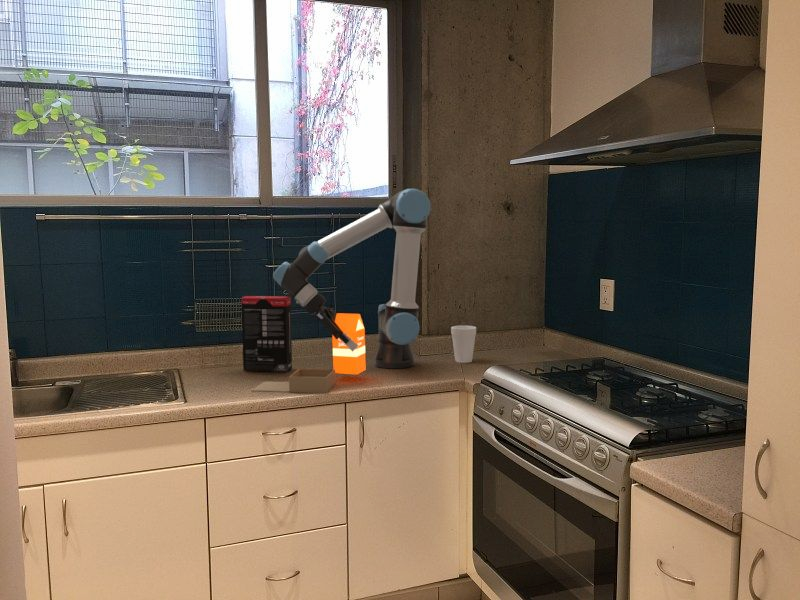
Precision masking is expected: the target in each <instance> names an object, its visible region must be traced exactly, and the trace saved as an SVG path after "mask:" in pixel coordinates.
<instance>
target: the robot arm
mask: <svg viewBox="0 0 800 600" xmlns="http://www.w3.org/2000/svg"><path fill="white" fill-rule="evenodd" d="M431 209H432V208H431V201H430V198H429V197H428V196H427V194H426V193H425V192H424V191H422V190H420V189H418V188H406V189H403V190H400V191H398V192H397V193H395V194H394V195H392V196H391V197H390V198H388V199H387V200H386V201H383V202H381V203H380V204H379V205H378V207H377V209H375V210H373V211H371V212H369V213H367V214H365V215H364V216H362V217H359V219H358V218H357V219H356V220H355V221H353V222H351V223H349V224H347V225H345V226H343V227H341V228H339V229H337V230H336V231H334V232H332V233H330V234H329V235H326V236H324V237H323V238H321V239H319V240H317V241H312V242H311V243H310V244H309V245H307V246H305V247H303V248H301V249H300V251H299V252H298V257H296V259H295V260H294V261H293V262H290V263H289V262H288V261H284V262H283V263H281V264H280V265H279V266H278V267H277V268H276V269H275V270H274V271H273V274H272V278H273V279H274V281H275V282H276V283H277V284H278V285H279V287H281V288H282V289H283V290H284V291H285V292H287V294H289V296H290V297H292V298H293V300H295V301H296V302H295V303H296V304H299V305H300V306H301V307H304V310H305V311H306V312H307V313H308V314H309V315H310V316H313V315H314V314H316V315H315V318H316V319H317V320H318V321H320V323H321V324H322V325H323V327H325V328H326V329H327V330H328V331H329V332H330V334H331V335H333V336H334V337H335V339H338V338H339V339H340V340H341V341H342V342H343V343H344V344H345V345H346V346H347V347H348V348H349V349H350V350H351V351H352V352H353V351H354V350H355V349H356V348H357V347H358V345H357V344H356V343H355V342H354V341H353V340H352V339H351V338H350V337H349V336H348V335H347V334H346V333H345V332H344V333H343V331H342V330H341V329H340V328H339V326H338V325H337V324H336V322H335V319H336V315H337V312H336V311H335V310H334V309H333V308H332V307H331V306H328V307H327V306H326V305H325V303H326V302H327V299H326V298H325V296H323V294H321V293H319V291H318V290H317V289H316V287H314V285H312V284H311V283H310V282H309V281H308V279H309V278H310V277H311V276H312V275H313V273H315V271H317V270H318V268H320V267H321V266H322V265H323V264H325V262H326V261H327V260H329V259H331V258H332V257H335V256H336V255H339V254H340V253H342V252H344V251H346V250H347V249H350V248H352V247H353V246H355V245H357V244H359V243H361V242H362V241H365V240H366V239H368V238H370V237H372V236H374V235H376V234H378V233H379V232H382V231H383V230H385V229H387V228H389V229H394V230H395V232H396V233H395V234H396V235H395V236H396V237H395V247H394V258H393V271H392V279H391V292H390V300H389V301H388V302H386V303H383V304H379V305H378V310H377V314H378V320H377V321H378V346H377V348H376V349H377V350H376V353H375V356H374V366H375V367H377V368H382V369H404V368H410V367H413V366H415V363H416V362H415V361H416V360H415V359H416V358H415V355H414V352H413V349H412V347H411V343H412V342H414V341H415V340H416V338H417V337H418V336H419V334H420V322H419V310H420V308H419V305H418V303H416V294H417V283H418V273H419V272H418V270H419V259H420V250H421V249H420V248H421V239H422V233H424V232H425V231H426V229H427V221H428V217H429V215H430V213H431Z"/></svg>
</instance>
